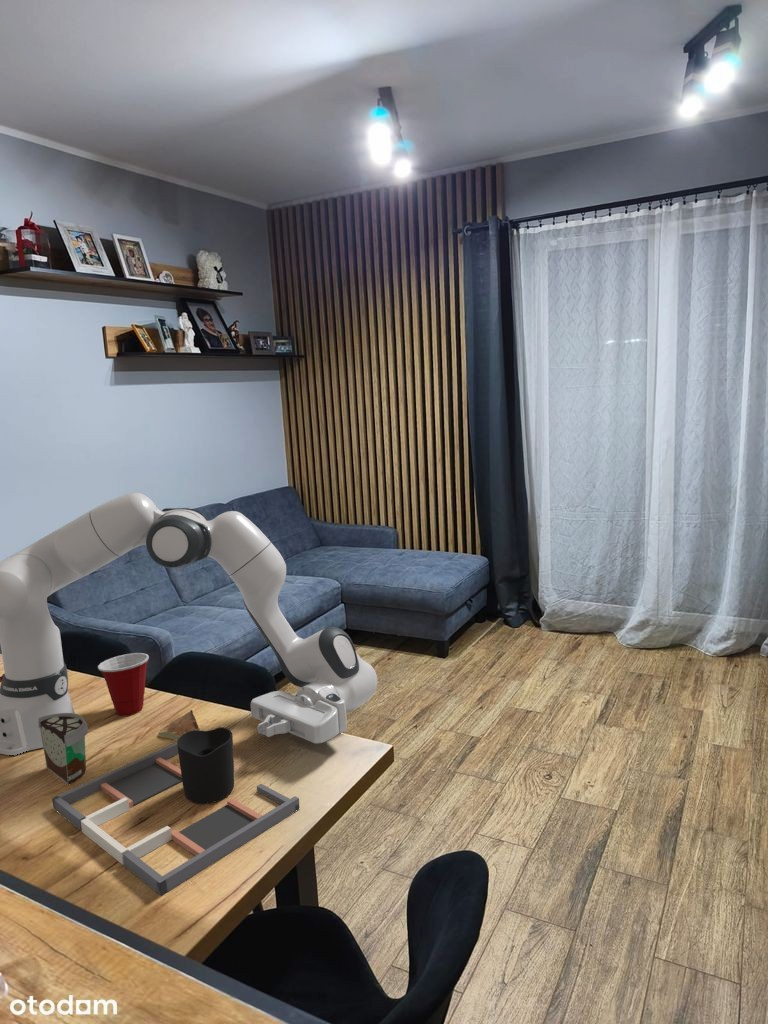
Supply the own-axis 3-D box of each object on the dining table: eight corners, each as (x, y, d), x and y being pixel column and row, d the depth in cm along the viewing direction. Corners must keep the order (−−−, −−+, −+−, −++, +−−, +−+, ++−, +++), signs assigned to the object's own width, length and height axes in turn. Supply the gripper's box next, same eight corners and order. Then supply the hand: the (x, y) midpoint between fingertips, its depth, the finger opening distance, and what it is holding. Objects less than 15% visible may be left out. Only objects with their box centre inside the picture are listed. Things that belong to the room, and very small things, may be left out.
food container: (104, 773, 130) (98, 723, 128) (72, 787, 126) (65, 736, 124) (75, 753, 138) (69, 705, 137) (43, 765, 134) (37, 717, 132)
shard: (192, 715, 154) (191, 708, 153) (219, 721, 151) (219, 713, 150) (157, 738, 144) (156, 730, 144) (186, 744, 141) (185, 736, 141)
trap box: (184, 748, 139) (183, 738, 138) (299, 809, 116) (298, 798, 116) (53, 808, 119) (52, 798, 119) (161, 895, 97) (159, 883, 97)
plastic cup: (130, 696, 164) (125, 648, 162) (164, 704, 159) (159, 654, 157) (92, 715, 155) (86, 664, 153) (126, 724, 150) (120, 672, 148)
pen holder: (210, 771, 129) (205, 721, 128) (247, 784, 124) (243, 732, 123) (170, 797, 122) (165, 743, 120) (209, 812, 117) (204, 757, 115)
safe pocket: (126, 807, 119) (125, 797, 118) (171, 839, 110) (170, 828, 109) (80, 830, 113) (79, 819, 112) (124, 866, 104) (123, 854, 103)
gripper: (280, 678, 147) (227, 701, 137) (350, 702, 134) (297, 730, 124) (283, 706, 148) (230, 731, 138) (352, 733, 135) (299, 763, 125)
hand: (262, 731), depth 131 cm, fingers closed
